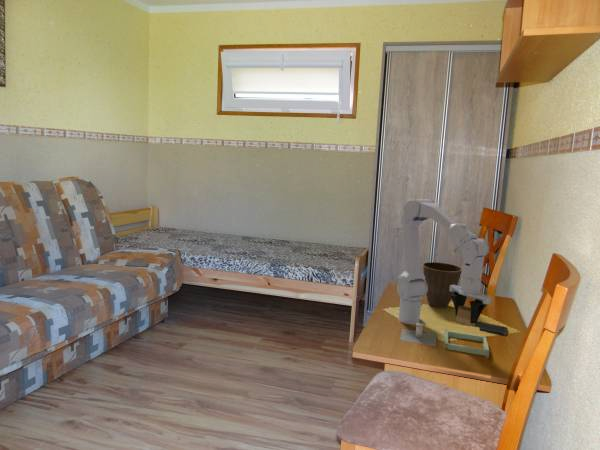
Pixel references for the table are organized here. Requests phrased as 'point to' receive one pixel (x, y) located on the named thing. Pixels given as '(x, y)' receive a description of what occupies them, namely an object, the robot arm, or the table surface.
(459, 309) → the wood ring
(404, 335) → the stake board
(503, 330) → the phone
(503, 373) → the table surface
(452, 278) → the plant pot
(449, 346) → the sage tray
